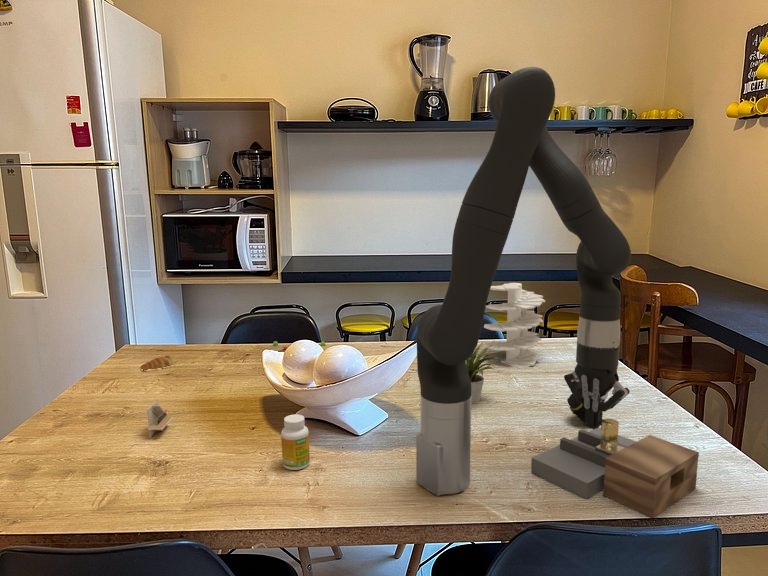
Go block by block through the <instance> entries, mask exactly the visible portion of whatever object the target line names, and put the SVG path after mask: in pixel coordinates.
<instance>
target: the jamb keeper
mask: <svg viewBox="0 0 768 576" xmlns="http://www.w3.org/2000/svg"><path fill="white" fill-rule="evenodd" d="M699 455H700V452H699V451H697V450H694V449H691V448H688V447H685V446H683V445H680V444H677V443H673V442H671V441H668V440H666V439H662V438H661V437H660V438H659V437H657V436H653V435H651V434H648V435H647V436H646V437H643V438H642V439H640V440H638V441H636V442H635V443H634V444H632V445H630V446H628V447H626V448H624V449H622V450H620V451H618V452H616V453H614V454H612V455H611V456H609V457H607V458H605V477H604V488H603V490H602V491H603V492H602V496H605V497H606V498H609V499H611V500H613V501H615V502H617V503H619V504H622V505H624V506H626V507H628V508H631V509H633V510H635V511H636V512H638V513H640V514H643V515H644V516H647V517H650V518H652V519H654V518H656V517H657V516H658V515H659V514H661V513H663V512H664V511H665V510H667V509H668V508H669V507H671V506H672V505H674V504H675V503H677V502H679V501H680V500H681V499H682V498H684V497H685V496H687V495H688V494H689V493H691V492H693V491H694V490H695V489H697V488H696V487H697V478H698V477H697V476H698V465H699V464H698V463H699Z"/></svg>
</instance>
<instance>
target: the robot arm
mask: <svg viewBox="0 0 768 576" xmlns="http://www.w3.org/2000/svg"><path fill="white" fill-rule="evenodd" d="M555 101H556V88H555V83H554V82H553V79H552V77H551V75H550V74H549V73H548V72H547V71H546V70H545V69H543V68H540V67H538V66H528V67H523V68H520V69H517V70H516V71H513V72H512V73H510V74H509V75H507V76H505V77H503V78H502V79H500V80H499V81H497V82H496V83H495V85H494V86H493V87H492V89H491V91H490V93H489V97H488V109H489V112H490V116H491V117H492V118H493V121H494V122H495V123H496V127H495V132H494V135H493V139H492V142H491V144H490V146H489V150H488V152H487V154H486V155H485V157H484V159H483V161H482V163H481V164H480V166H479V168H478V169H477V171H476V172H475V174H474V176H473V178H472V180H471V181H470V184H469V185H468V187H467V189H466V191H465V194H464V197H463V198H462V201H461V205H460V208H459V211H458V214H457V216H456V220H455V224H454V229H453V232H452V233H453V234H452V244H451V245H452V246H451V269H450V271H451V272H450V278H449V282H448V285H447V286H448V287H447V290H446V293H445V295H444V299H443V301H442V304H438V305H434V306H431V307H429V308H428V309H427V310H425V311H424V313H423V314H422V315H421V317H420V318H419V321H418V324H417V328H416V364H417V365H416V366H417V367H416V368H417V375H418V381H419V387H420V389H419V390H420V433H418V434H417V435H416V437H415V439H416V441H415V445H416V446H415V447H416V450H415V453H416V454H415V455H416V460H415V461H416V463H415V464H416V465H415V466H416V469H415V472H416V473H415V474H416V476H415V478H416V479H415V480H416V483H417V484H418V485H419V486H422V488H424V489H426V490H428V491H429V492H431V493H433V494H434V495H436V496H438V497H440V496H441V495H451V494H452V495H453V494H457V493H461V492H463V491H465V490H466V489H468V488H469V486H470V483H471V445H472V444H471V441H472V440H471V438H472V437H471V436H472V434H471V433H472V428H471V427H472V404H471V380H470V377H469V375H468V372H467V368H466V363H465V361H466V360H467V359H468V358H469V357H470V356H471V355H472V354H473V353H474V351H475V350H476V348H477V347H478V346H477V345H478V344H479V340H480V337H481V331H482V326H483V321H484V316H485V312H486V305H487V302H488V298H489V295H490V288H491V286H493V285H492V284H493V282H494V279H495V275H496V272H497V270H498V266H499V263H500V260H501V258H502V257H501V256H502V255H503V252H504V248H505V246H506V243H507V240H508V236H509V234H510V231H511V228H512V225H513V222H514V219H515V216H516V211H517V207H518V205H519V201H520V197H521V195H522V191H523V188H524V185H525V182H526V178H527V175H528V171H529V168H530V169H531V170H532V172H533V174H534V175H535V177H536V178H537V180H538V182H539V183H540V184H541V186H542V188H543V190H544V191H545V193H546V195H547V197H548V199H549V200H550V202H551V204H552V206H553V207H554V209H555V211H556V213H557V214H558V217H559V218H560V220H561V221H562V224H563V226H564V227H565V228H566V229H567V231H569V232H570V233H572V234H574V235H576V236H577V238H578V239H579V240H580V242H579V243H578V246H577V249H576V255H575V263H576V265H575V266H576V272H577V278H578V279H577V280H578V284H579V289H580V300H579V301H580V302H579V303H580V304H579V320H578V323H577V333H576V351H575V352H576V353H575V355H576V356H575V362H576V365H575V367H574V371H572V372H570V373H568V374H564V376H563V379H564V380H565V383H566V385H567V386H568V389H569V390H570V392H571V394H573V396H574V397H575V399H576V401H577V402H578V403H581V404H583V405H584V407H585V422H584V423H585V425H586V427H587V428H590V430H593V429H597V428H600V427H601V423H602V419H603V413H604V412H607V411H609V410H611V409H613V408H614V407H615V406H617V405H618V404H619V403H620V402H621V401H622V400H624V398H626V396H628V395H629V394H630V393H631V392H630V391H631V390H630V388H629V387H624V386H623V384H621V383H620V382H619V380H620V376H619V374H618V367H619V360H620V345H621V322H620V321H621V319H620V318H621V309H622V308H621V306H622V305H621V304H622V296H621V294H622V293H621V291H620V290H619V288H618V287H617V286H616V285H615V284H614V283H613V282H614V281H613V276H614V275H615V276H616V275H619V274H621V273H623V272H624V271H625V270H626V269H627V268H629V267H628V266H629V265H630V264H631V259H632V251H631V247H630V244H629V241H628V239H627V238H626V236H625V235H624V234H623V232H622V231H621V230H620V228H619V227H618V225H616V223H615V222H614V221H613V219H612V218H611V217H610V216H609V215H608V214H607V213H606V212H605V210H604V209H603V207H602V206H601V203H600V201H599V198H598V197H597V196H596V193H595V191H594V190H593V188H592V186H591V184H590V183H589V180H588V178H587V177H586V176H585V175H584V173H583V172H582V170H581V169H580V168H579V167H578V165H576V164H575V162H573V160H572V159H570V157H568V155H567V154H566V153H565V152H564V151H563V150H562V148H560V146H559V145H558V144H557V143H556V141H555V140H554V139H553V137H552V136H551V134H550V132H549V130H548V128H547V126H546V125H547V124H548V121H549V118H550V117H551V113H552V112H553V109H554V105H555ZM611 390H612V391H611ZM610 391H611V393H612V395H611V396H610V397H609V398H608V396H609V395H608V394H609V392H610ZM607 398H608V399H607Z"/></svg>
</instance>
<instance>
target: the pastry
mask: <svg viewBox="0 0 768 576" xmlns="http://www.w3.org/2000/svg"><path fill="white" fill-rule="evenodd" d="M174 364H175V361H174V360H173V357H172V356H171V355H170V354H169V355H167V354H166V355H165V356H159V357H155V358H153V359H152V360H150V361H147V362H146V363H144V364H142V365H141V366H140V370H141V369H143V370H148V369H157V368H163V367H167V366H171V365H174Z"/></svg>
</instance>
